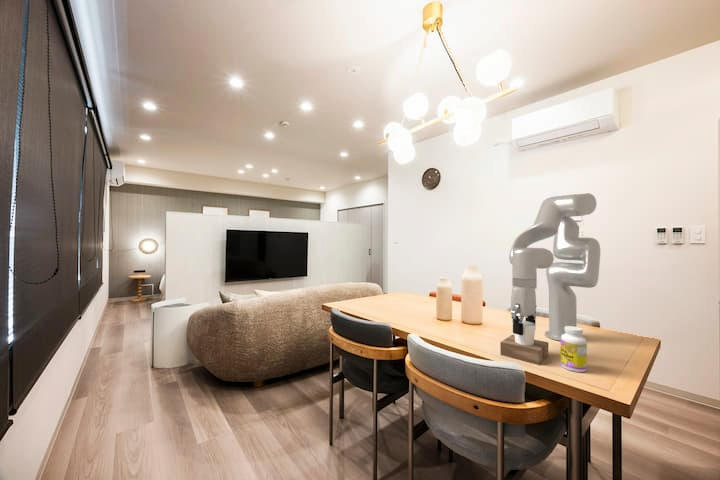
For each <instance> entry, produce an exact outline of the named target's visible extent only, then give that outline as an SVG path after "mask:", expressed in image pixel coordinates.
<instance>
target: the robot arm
mask: <svg viewBox="0 0 720 480" xmlns="http://www.w3.org/2000/svg"><path fill="white" fill-rule="evenodd" d="M596 208H597V199H596V197H595V196H594V194H592V193H588V192H587V193H586V192H585V193H579V194H577V193H576V194H568V195H567V194H566V195H565V194H564V195H558V196H557V195H556V196H550V197H547V198H545V199H544V200H543V201H542V203H541V204H540V208H539V210H538V212H537V215H536V217H535V219H534V223H533V225H531V226H530V227H527V228H525V230H524V231H522V232H521V233H519V235H517V236H516V238H515V239H514V241H513V243H512V245H511V248H510V250H509V254H508V259H509V262H510V265H512V266H511V267H512V274H511V275H512V276H511V277H512V280H511V281H512V282H511V284H512V285H511V286H512V288H511V296H510V298H511V299H510V315H511V319H512V320H511V322H512V333H513V335H515V334H518V335H523V323H522V321H524V318H525V321H529V322H532V323H535V324H536V322H537V321H536V319H537V316H536V313H537V297H536V296H537V295H536V290H537V288H538V287H537V285H538V284H537V283H538V279H537V276H538V275H537V269H539V270H540V269H541V270H543V269H545V270H546V271H545V276H546V279H547V280H546V281H547V284H548V285H547V286H548V330H546V331H545V332H544V336H545V337H547V338H549V339H550V340H555V341H558V342H561V336H562V335H563V334H565V330H564V327H565V326H574V327H578V326H577V296H576V293H575V292H574V290H573V289H572V288H571V287H576V288H578V287H579V288H588V289H589V288H590V289H591V288H594V287H595V288H596V286H597V284H598V282H599V277H600V275H599V274H600V266H601V265H600V263H601V246H600V242H599V241H598V240H597V239H596V238H594V237H580V235H579V234H580V226H579V224H578V223H577V221H575V220H574V219H573V218H572V217H581V216H583V217H584V216H588V215H591V214H593V213H594V212H595V211H596ZM551 237H553V248H552V251H551V250H549V249H547V248H545V247H544V248H543V247H530V246H531V245H533V244H534V243H538V242H541V241H543V240H546V239H549V238H551ZM554 258H556V259H559V260H562V261H563V262H562V261H561V262H558V261H557V262H554V260H555V259H554ZM564 261H582V262H583V263H579V262H578V263H577V262H564ZM536 328H537V327H535V330H536Z"/></svg>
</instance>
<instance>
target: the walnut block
mask: <svg viewBox="0 0 720 480" xmlns="http://www.w3.org/2000/svg"><path fill="white" fill-rule="evenodd" d="M499 344H500V346H499V347H500V348H499V349H500V353H499V354H500V356H503V357H505V358H510V359H514V360H518V361H522V362H525V363H529V364H532V365H533V364H534V365H537V366H540V365H541V364H542V363H543V362H544V361H545V360H546V359H547V357H549V342H548V341H543V340H539V339H534V344H533V345H522V344H519V343H517V342H515V334H511V335H509V336H508V337H506V338H505V339H502V341H500V343H499Z"/></svg>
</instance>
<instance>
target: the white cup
mask: <svg viewBox="0 0 720 480" xmlns="http://www.w3.org/2000/svg"><path fill="white" fill-rule="evenodd" d="M522 323H523V335H518V334H514V335H515V342H517V343H519V344H522V345H533V344H534V340H535V333H536V329H535V327H536V324H535V323H532V322H529V321H526V320H523V321H522ZM536 328H537V327H536Z"/></svg>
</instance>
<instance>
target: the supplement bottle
mask: <svg viewBox="0 0 720 480" xmlns="http://www.w3.org/2000/svg"><path fill="white" fill-rule="evenodd" d="M564 330H565V334H563V335H562V336H561V341H560V366H561V367H562V368H564V369H565V370H568V371H570V372H575V373H583V372H586V371H587V369H588V368H587V365H588V364H587V362H588V361H587V360H588V359H587V357H588V356H587V355H588V353H587V348H588V347H587V346H588V345H587V344H588V343H587V339H586V337H584V336H583V334H584V331H583V328H582V327H578V326H577V327H574V326H565V327H564Z"/></svg>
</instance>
